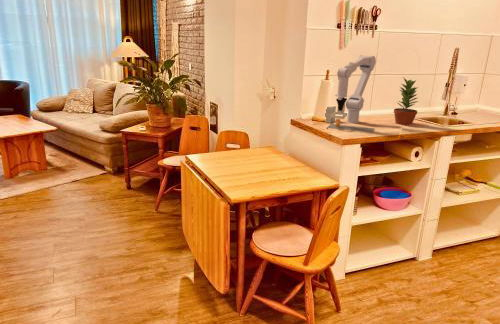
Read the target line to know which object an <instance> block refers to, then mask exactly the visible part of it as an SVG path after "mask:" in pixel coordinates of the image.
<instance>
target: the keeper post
mask: <svg viewBox="0 0 500 324" xmlns="http://www.w3.org/2000/svg"><path fill="white" fill-rule="evenodd" d="M335 124H336V127H340V125H341V119H338V118H335Z"/></svg>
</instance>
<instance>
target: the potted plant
mask: <svg viewBox="0 0 500 324" xmlns="http://www.w3.org/2000/svg"><path fill="white" fill-rule="evenodd" d="M402 79H403V80H404V83H405V84H402V83H401V85H402V87H401V86H399V88H400V89H399V92H401V96H402V98H401V100H402V101H400V100H398V102H397V101H396V103H397V105H398V106H400V107H397V108H394V109H393V113H394V121H395V124H397V125H401V126H402V125H403V126H412V125H413V122H414V120H415V119H416V116H417V114H418V110H417V109H413V108H411V107H412V106H414V105H415V104H416V103H419V102H420V101H415V100H417V99H418V97H416V96H417V95H418V94H419V93H417V94H415V93H416V92H417V90H418V88H419V87H418V86H417V87H416V86H414V84H415V83H416V81H417V79H415V80H414V81H413V80H412V79H409V80H407V79H406V78H405V77H402ZM413 86H414V87H413ZM403 87H404V88H403ZM400 103H401V104H400Z"/></svg>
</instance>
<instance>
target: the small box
mask: <svg viewBox="0 0 500 324" xmlns="http://www.w3.org/2000/svg"><path fill="white" fill-rule="evenodd" d="M327 105H328V104H327ZM334 112H337V106H336V105H330V104H329V105H328V107H327V109H326V113H325V117H326V121H325V122H324V123H329V124H333V123H336V118H330V116H331V115H332V114H333V113H334Z"/></svg>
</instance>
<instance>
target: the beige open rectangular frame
mask: <svg viewBox="0 0 500 324" xmlns="http://www.w3.org/2000/svg"><path fill="white" fill-rule="evenodd" d="M345 110H346V104H345V105H344V106H343V109H342V111H339V110H338V109H336V112H334V113H333V114H332V115H331V116H330V118H335V119H340V120H345V118H346V117H348V112H345Z"/></svg>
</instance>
